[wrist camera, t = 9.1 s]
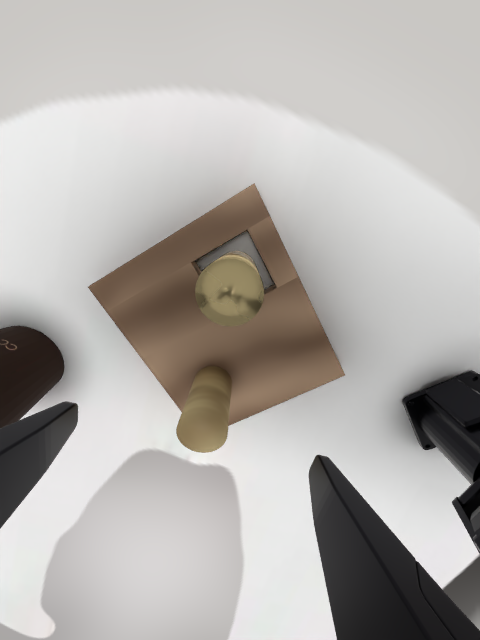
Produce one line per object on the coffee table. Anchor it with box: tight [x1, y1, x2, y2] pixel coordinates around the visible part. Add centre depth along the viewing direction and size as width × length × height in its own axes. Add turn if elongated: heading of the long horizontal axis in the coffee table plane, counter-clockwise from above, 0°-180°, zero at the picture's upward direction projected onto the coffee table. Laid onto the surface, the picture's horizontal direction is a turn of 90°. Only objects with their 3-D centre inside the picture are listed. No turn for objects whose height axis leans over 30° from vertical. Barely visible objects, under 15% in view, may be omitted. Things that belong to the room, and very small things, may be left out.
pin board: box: [88, 183, 345, 453], centre depth 17 cm, size 16×14×7 cm
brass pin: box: [195, 251, 264, 326], centre depth 15 cm, size 3×3×8 cm
